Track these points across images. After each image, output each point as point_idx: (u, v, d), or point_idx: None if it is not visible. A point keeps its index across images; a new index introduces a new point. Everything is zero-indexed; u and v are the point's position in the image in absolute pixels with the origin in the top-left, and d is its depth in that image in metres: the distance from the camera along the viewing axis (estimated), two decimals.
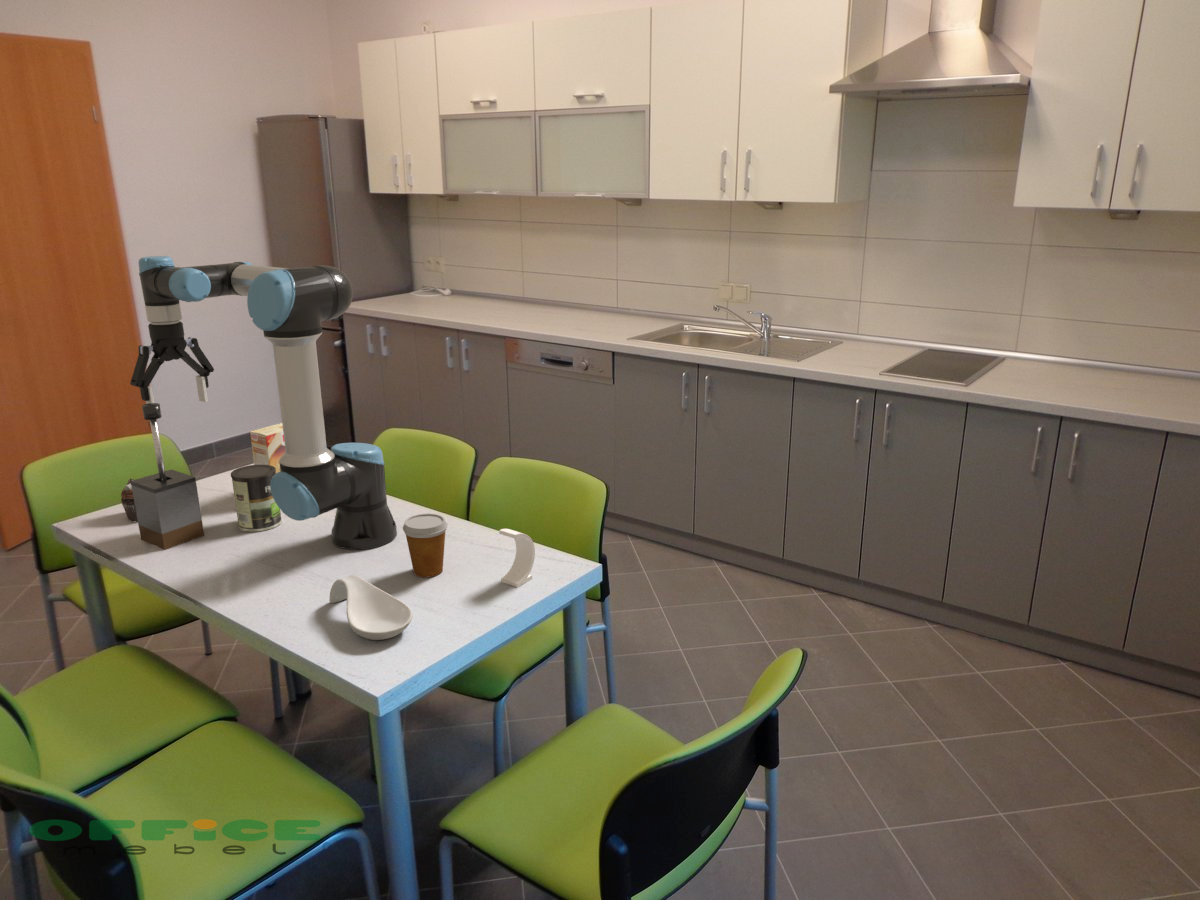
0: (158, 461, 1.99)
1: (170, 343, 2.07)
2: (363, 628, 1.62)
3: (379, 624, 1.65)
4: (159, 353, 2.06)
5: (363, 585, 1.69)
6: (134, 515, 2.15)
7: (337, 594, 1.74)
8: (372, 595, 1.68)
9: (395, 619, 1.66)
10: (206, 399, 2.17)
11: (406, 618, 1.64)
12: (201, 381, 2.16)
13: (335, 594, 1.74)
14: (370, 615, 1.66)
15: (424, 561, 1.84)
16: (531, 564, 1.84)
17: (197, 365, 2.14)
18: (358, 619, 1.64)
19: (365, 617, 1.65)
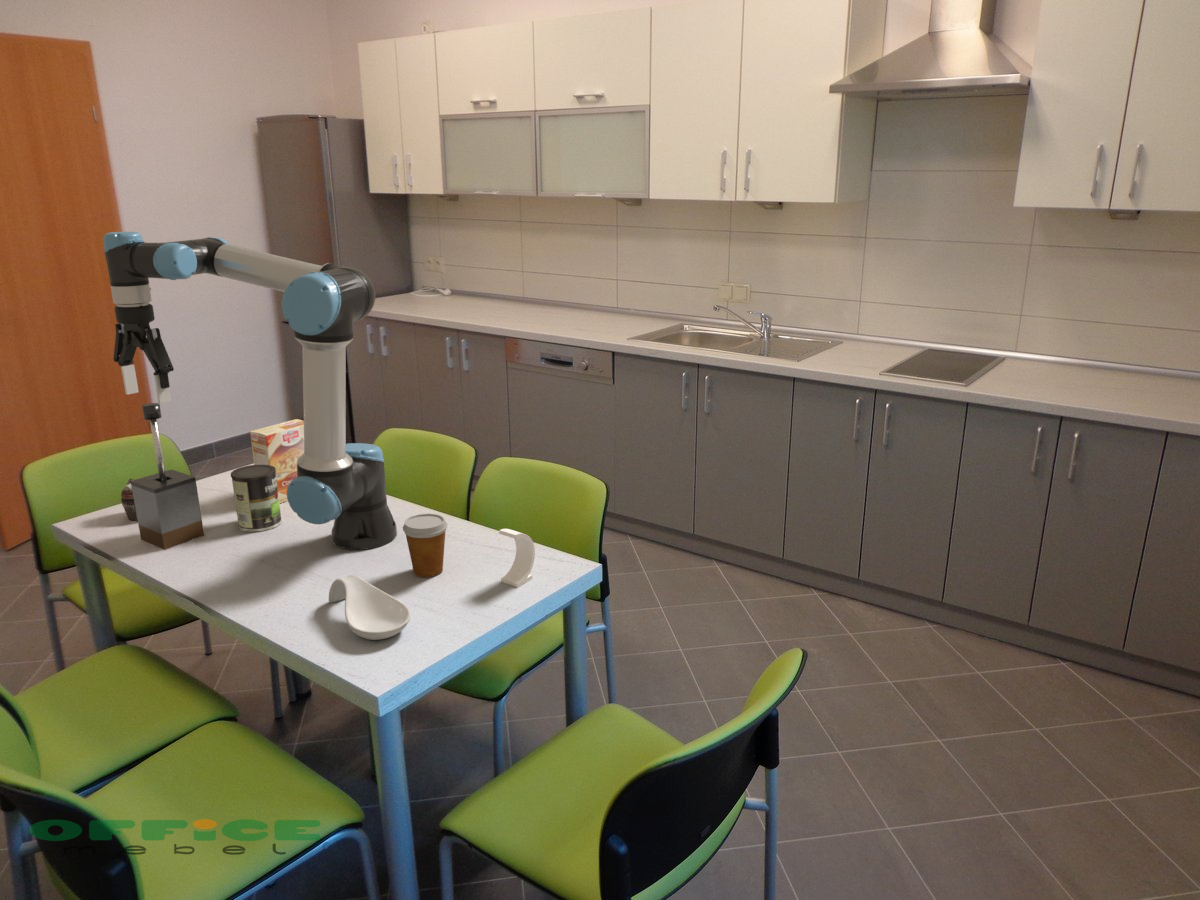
0: (158, 461, 1.99)
1: (131, 327, 1.89)
2: (361, 628, 1.63)
3: (377, 624, 1.65)
4: None
5: (362, 585, 1.69)
6: (134, 515, 2.15)
7: (336, 594, 1.74)
8: (371, 594, 1.68)
9: (394, 618, 1.66)
10: (158, 400, 1.90)
11: (404, 618, 1.64)
12: None
13: (334, 594, 1.74)
14: (368, 615, 1.66)
15: (424, 561, 1.84)
16: (531, 564, 1.84)
17: (150, 360, 1.88)
18: (357, 618, 1.64)
19: (363, 616, 1.65)
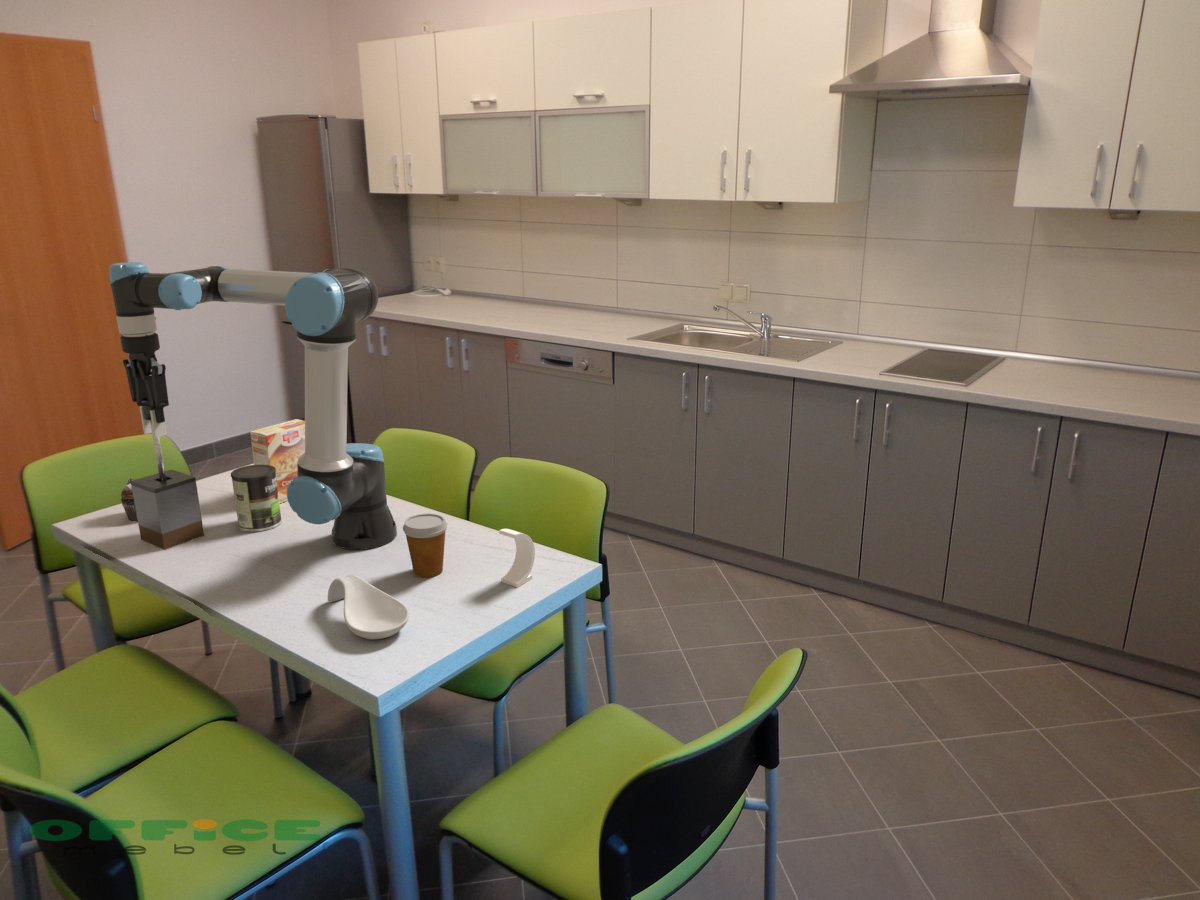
0: (158, 461, 1.99)
1: (137, 356, 1.91)
2: (360, 627, 1.63)
3: (376, 624, 1.65)
4: None
5: (361, 584, 1.69)
6: (134, 515, 2.15)
7: (335, 593, 1.74)
8: (370, 594, 1.68)
9: (393, 618, 1.66)
10: (154, 434, 1.95)
11: (403, 618, 1.64)
12: None
13: (333, 593, 1.74)
14: (367, 614, 1.66)
15: (424, 561, 1.84)
16: (531, 564, 1.84)
17: (149, 393, 1.92)
18: (355, 618, 1.64)
19: (362, 616, 1.66)
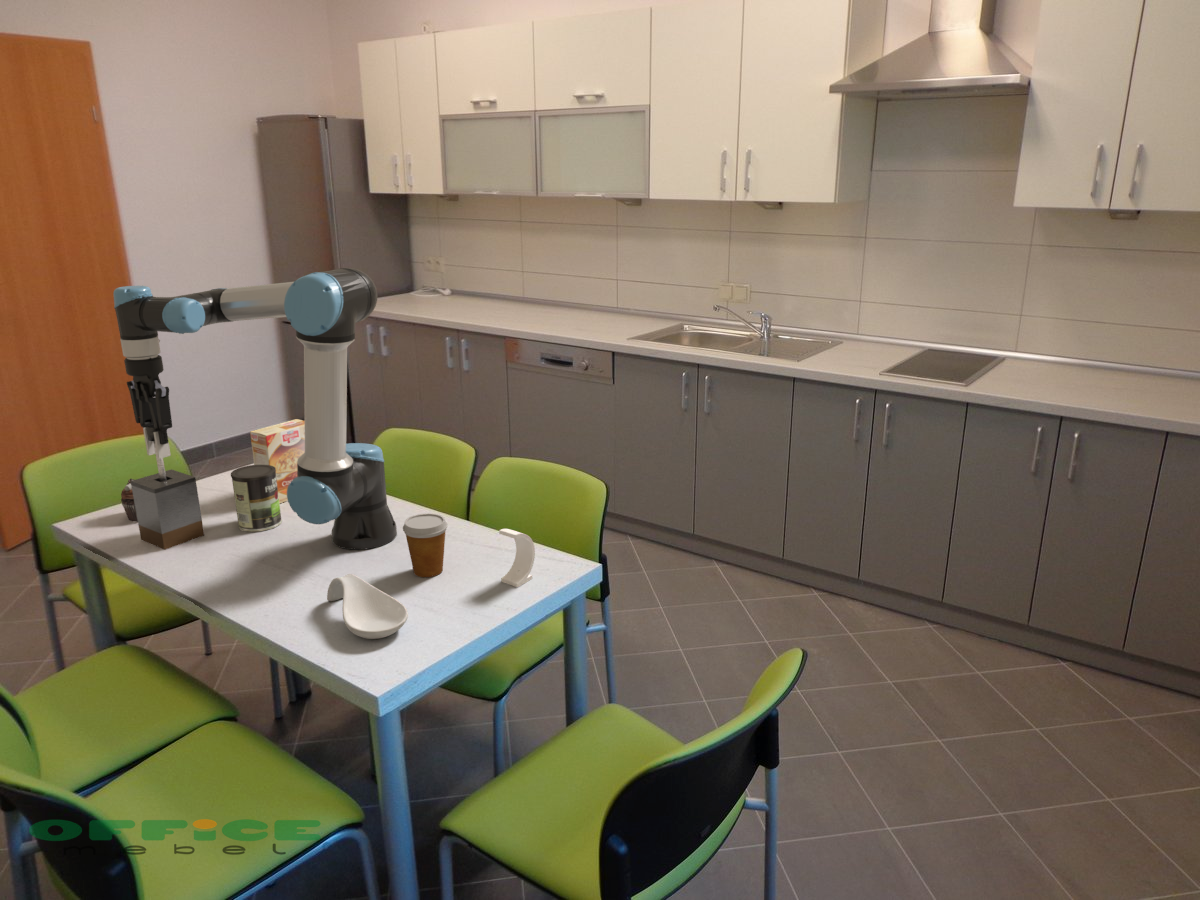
0: None
1: (141, 379, 1.93)
2: (359, 627, 1.63)
3: (375, 623, 1.65)
4: None
5: (360, 584, 1.69)
6: (134, 515, 2.15)
7: (335, 593, 1.75)
8: (369, 594, 1.68)
9: (391, 618, 1.66)
10: (158, 455, 1.97)
11: (402, 617, 1.64)
12: None
13: (333, 593, 1.74)
14: (366, 614, 1.66)
15: (424, 561, 1.84)
16: (531, 564, 1.84)
17: (153, 415, 1.94)
18: (354, 617, 1.64)
19: (361, 616, 1.66)
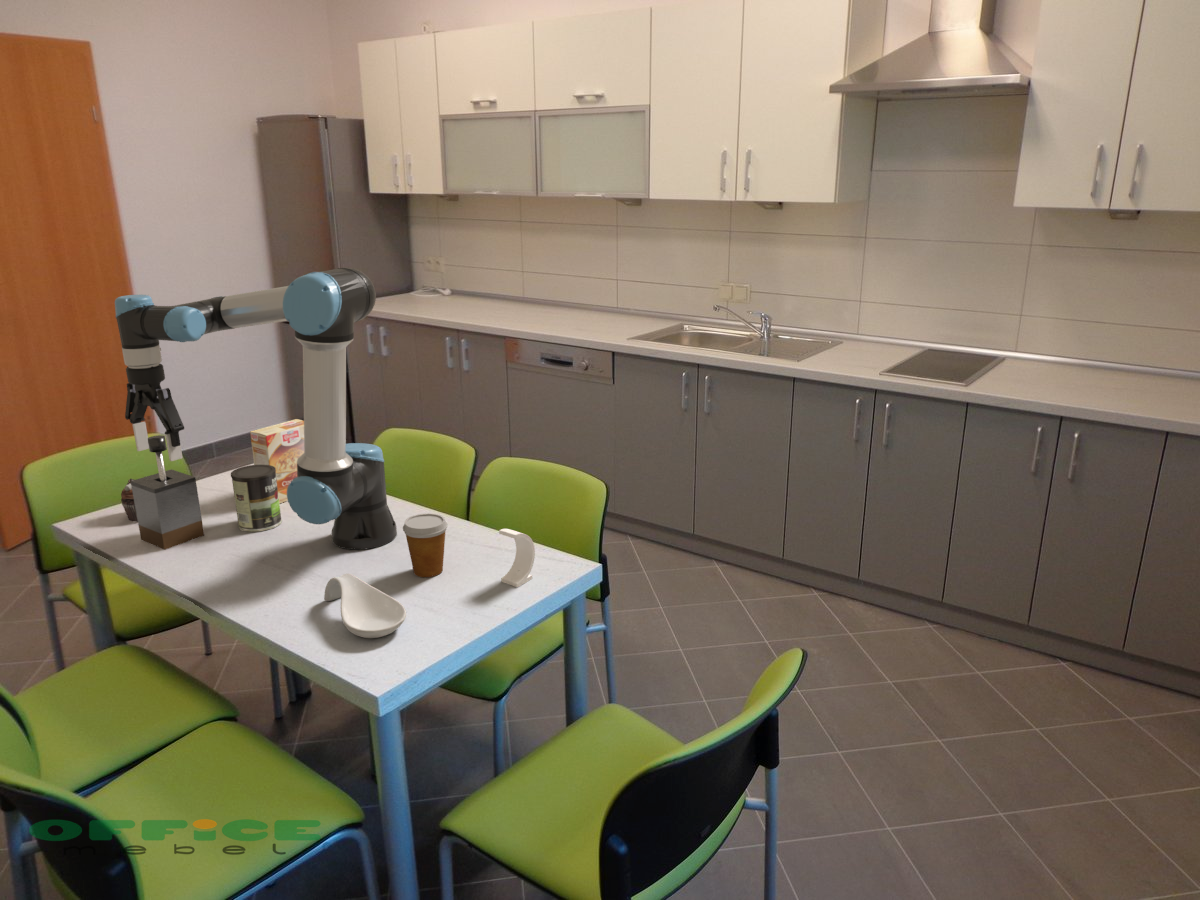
0: None
1: (142, 387, 1.93)
2: (357, 626, 1.63)
3: (373, 622, 1.65)
4: None
5: (357, 583, 1.69)
6: (134, 515, 2.15)
7: (332, 592, 1.75)
8: (367, 593, 1.69)
9: (389, 617, 1.66)
10: (170, 458, 1.94)
11: (400, 616, 1.64)
12: None
13: (330, 592, 1.74)
14: (364, 613, 1.67)
15: (424, 561, 1.84)
16: (531, 564, 1.84)
17: (162, 419, 1.92)
18: (352, 617, 1.65)
19: (359, 615, 1.66)
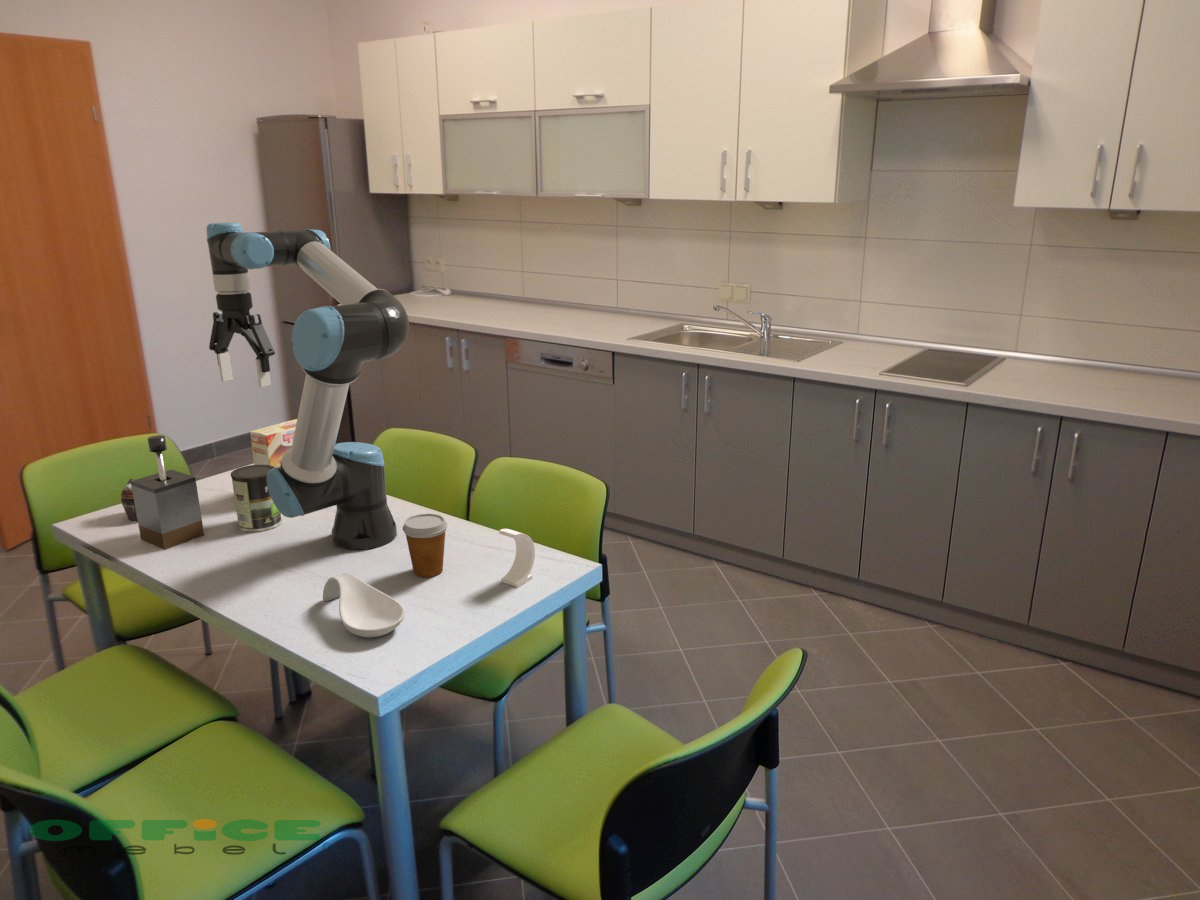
0: None
1: (231, 315, 1.97)
2: (355, 626, 1.63)
3: (372, 622, 1.66)
4: None
5: (356, 583, 1.70)
6: (134, 515, 2.15)
7: (330, 592, 1.75)
8: (365, 592, 1.69)
9: (388, 616, 1.67)
10: (260, 384, 1.98)
11: (399, 616, 1.64)
12: None
13: (328, 592, 1.75)
14: (363, 613, 1.67)
15: (424, 561, 1.84)
16: (531, 564, 1.84)
17: (252, 345, 1.96)
18: (351, 616, 1.65)
19: (357, 614, 1.66)
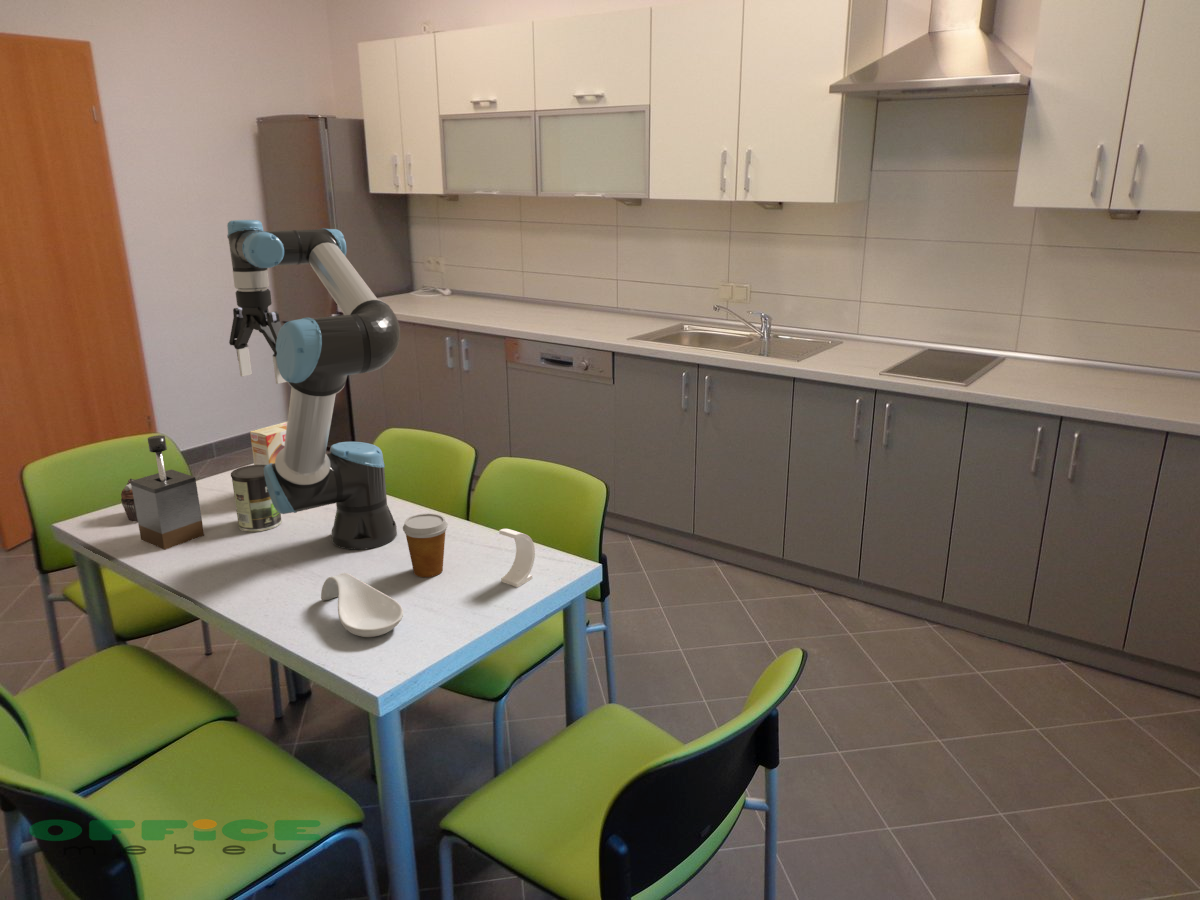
0: None
1: (250, 311, 1.98)
2: (354, 625, 1.63)
3: (370, 621, 1.66)
4: None
5: (354, 583, 1.70)
6: (134, 515, 2.15)
7: (329, 592, 1.75)
8: (364, 592, 1.69)
9: (387, 616, 1.67)
10: (276, 380, 1.99)
11: (397, 615, 1.65)
12: None
13: (327, 592, 1.75)
14: (361, 612, 1.67)
15: (424, 561, 1.84)
16: (531, 564, 1.84)
17: (270, 342, 1.97)
18: (349, 616, 1.65)
19: (356, 614, 1.66)
